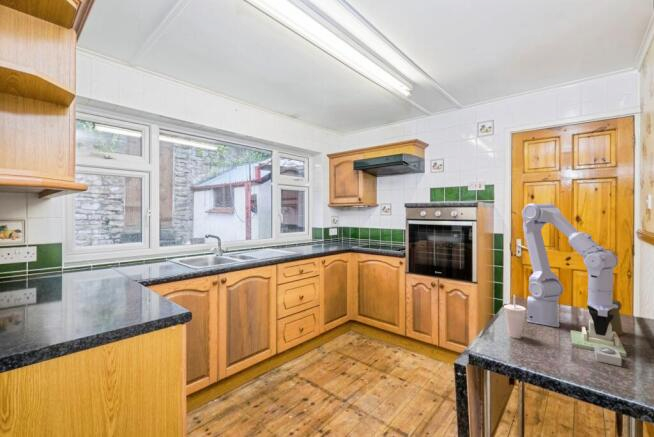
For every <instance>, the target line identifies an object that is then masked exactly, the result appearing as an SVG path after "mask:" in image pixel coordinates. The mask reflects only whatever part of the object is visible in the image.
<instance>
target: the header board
mask: <svg viewBox="0 0 654 437" xmlns="http://www.w3.org/2000/svg"><path fill="white" fill-rule="evenodd" d="M569 332H570V340H571V346H572V347H574V348H578V349H579V348H580V349H584V350H588V351H593V352H594V345H596V346H601V347H607V348H612V349H617V350H618V352H619V354H620V356H621V357H625V358H627V351H626V350H625V347H624V346H623V344H622V341H621V340H620V338H619V335H617V334H616V332H612V341H608V340H602V339H597V338H591V337H589V329H587V330H586V326H581V331H577V330H574V329H573V330H572V329H570V331H569Z"/></svg>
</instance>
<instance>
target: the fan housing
mask: <svg viewBox="0 0 654 437" xmlns="http://www.w3.org/2000/svg"><path fill="white" fill-rule="evenodd" d="M593 353H594V357H595V361H596V362H598V363H599V362H600V363H604V364H609V365H613V366H619V367H622V356H620V354H619V352H618V350H617V349H612V348H607V347H601V346H596V345H594V351H593Z"/></svg>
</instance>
